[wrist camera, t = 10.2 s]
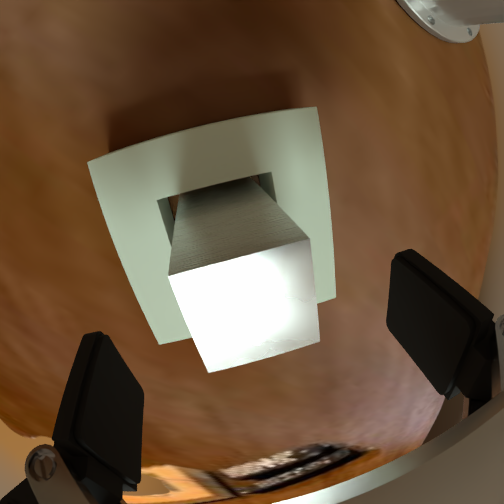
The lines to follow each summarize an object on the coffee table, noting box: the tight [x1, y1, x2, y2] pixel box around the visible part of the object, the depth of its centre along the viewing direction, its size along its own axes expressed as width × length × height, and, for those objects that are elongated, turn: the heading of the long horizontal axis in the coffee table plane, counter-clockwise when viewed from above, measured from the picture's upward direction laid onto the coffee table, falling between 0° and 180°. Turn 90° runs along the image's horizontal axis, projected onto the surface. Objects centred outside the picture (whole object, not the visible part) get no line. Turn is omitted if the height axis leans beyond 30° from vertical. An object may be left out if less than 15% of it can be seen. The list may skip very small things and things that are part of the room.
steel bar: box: [168, 176, 320, 373], centre depth 15 cm, size 4×4×11 cm
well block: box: [87, 107, 336, 345], centre depth 18 cm, size 12×12×4 cm
